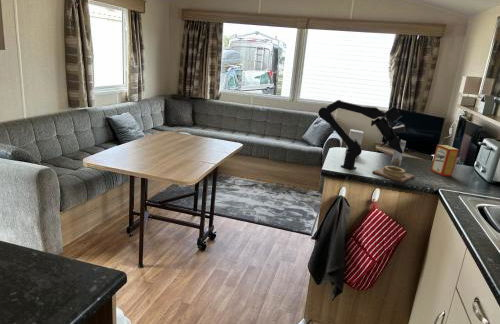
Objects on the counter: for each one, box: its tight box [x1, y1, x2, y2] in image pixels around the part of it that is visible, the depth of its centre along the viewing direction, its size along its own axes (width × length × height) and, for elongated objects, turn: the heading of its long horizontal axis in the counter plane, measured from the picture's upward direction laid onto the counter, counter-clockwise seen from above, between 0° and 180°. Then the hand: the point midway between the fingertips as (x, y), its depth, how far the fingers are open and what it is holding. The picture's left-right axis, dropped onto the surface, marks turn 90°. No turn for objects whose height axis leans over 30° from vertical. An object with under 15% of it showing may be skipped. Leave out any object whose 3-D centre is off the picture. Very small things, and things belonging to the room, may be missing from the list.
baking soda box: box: [430, 144, 460, 177], centre depth 208 cm, size 10×6×16 cm
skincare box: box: [344, 128, 365, 158], centre depth 226 cm, size 8×7×16 cm
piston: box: [390, 139, 407, 167], centre depth 191 cm, size 5×5×13 cm
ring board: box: [371, 165, 415, 183], centre depth 194 cm, size 16×16×4 cm
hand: (401, 152), depth 190 cm, fingers closed on piston, 5 cm apart
